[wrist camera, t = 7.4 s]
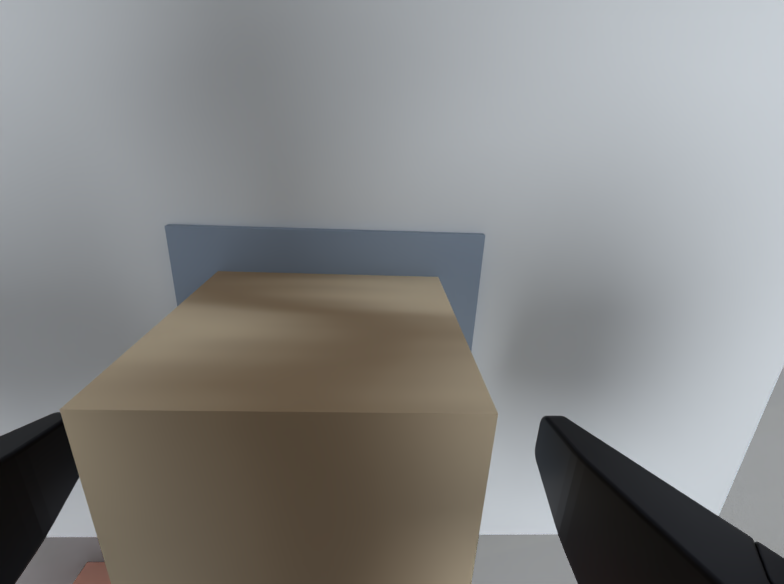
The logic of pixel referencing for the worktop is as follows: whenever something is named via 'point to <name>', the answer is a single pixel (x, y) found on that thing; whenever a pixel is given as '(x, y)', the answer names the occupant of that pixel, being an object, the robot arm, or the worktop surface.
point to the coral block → (93, 574)
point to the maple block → (290, 437)
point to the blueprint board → (416, 200)
